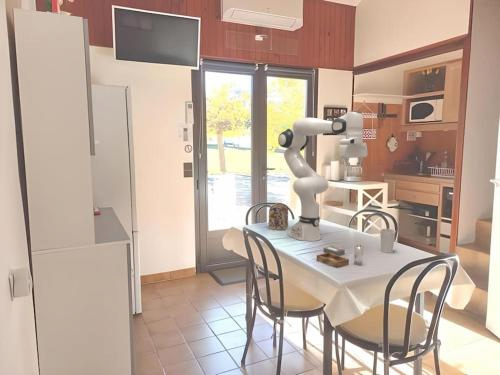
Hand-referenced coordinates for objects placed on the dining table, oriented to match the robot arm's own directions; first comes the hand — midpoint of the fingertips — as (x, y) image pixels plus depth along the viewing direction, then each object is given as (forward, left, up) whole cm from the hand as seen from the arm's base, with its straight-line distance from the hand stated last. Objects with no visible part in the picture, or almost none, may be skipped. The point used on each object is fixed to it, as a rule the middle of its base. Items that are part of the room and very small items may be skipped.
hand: (353, 166), depth 204 cm
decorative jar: (-63, +2, -48) cm, 79 cm away
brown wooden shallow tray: (+9, -25, -48) cm, 54 cm away
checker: (-1, -12, -48) cm, 49 cm away
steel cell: (+18, -16, -48) cm, 53 cm away
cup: (+14, +15, -48) cm, 52 cm away
